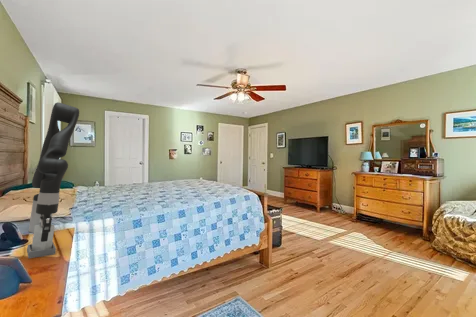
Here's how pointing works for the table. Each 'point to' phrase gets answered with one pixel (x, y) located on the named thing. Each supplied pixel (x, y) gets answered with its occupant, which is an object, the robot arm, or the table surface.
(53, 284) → the table surface
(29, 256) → the frame
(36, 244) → the skincare box
